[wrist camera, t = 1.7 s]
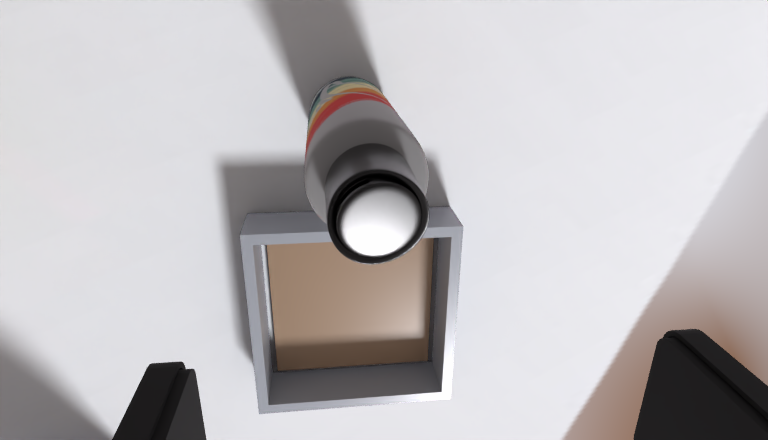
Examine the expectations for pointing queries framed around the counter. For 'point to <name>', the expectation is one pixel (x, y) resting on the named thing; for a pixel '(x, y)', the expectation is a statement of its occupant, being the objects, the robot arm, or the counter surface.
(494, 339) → the counter surface
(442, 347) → the square gray frame
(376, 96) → the lotion bottle
